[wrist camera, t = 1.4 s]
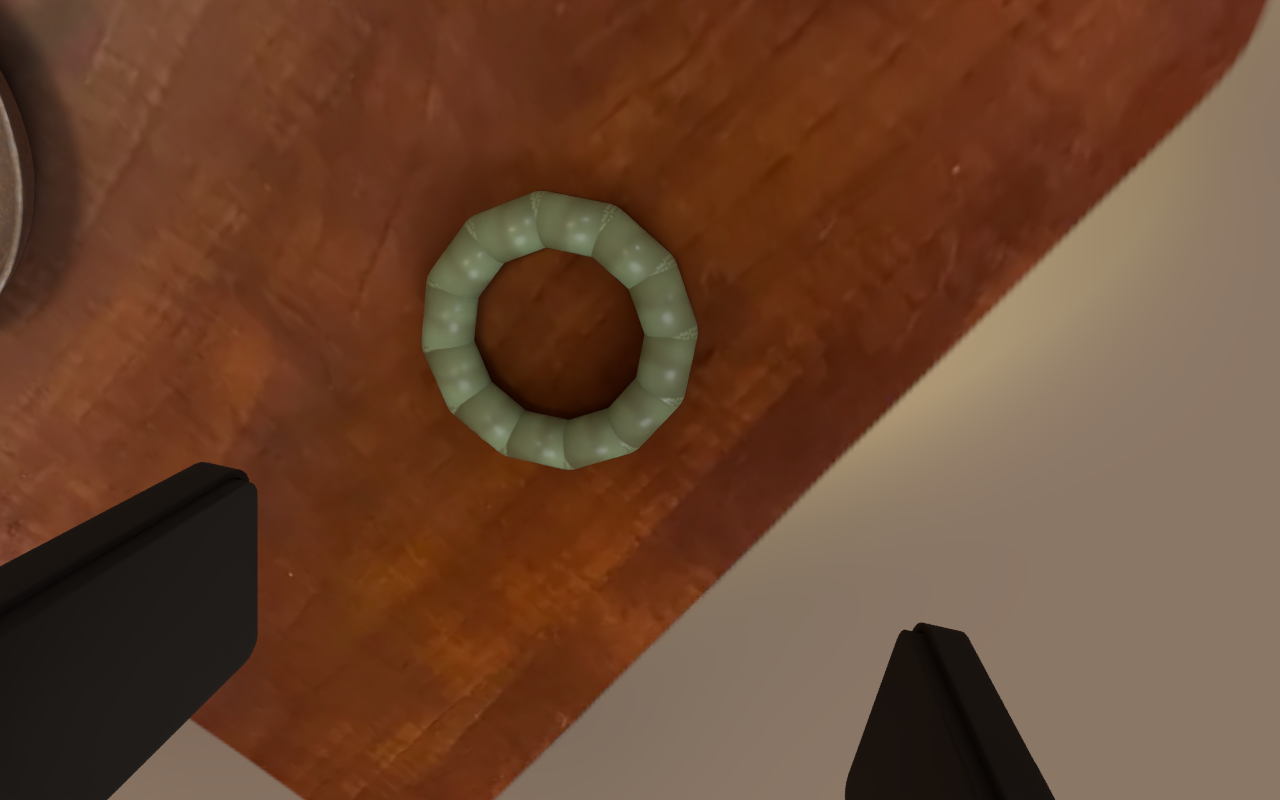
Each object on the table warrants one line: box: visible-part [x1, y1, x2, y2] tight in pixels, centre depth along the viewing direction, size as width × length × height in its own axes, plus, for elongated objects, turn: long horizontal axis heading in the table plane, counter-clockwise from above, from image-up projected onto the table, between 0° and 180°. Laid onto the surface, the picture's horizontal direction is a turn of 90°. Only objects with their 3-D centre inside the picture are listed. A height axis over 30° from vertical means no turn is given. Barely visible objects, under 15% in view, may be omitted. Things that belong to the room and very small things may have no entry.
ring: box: [422, 191, 698, 470], centre depth 24 cm, size 10×10×2 cm
